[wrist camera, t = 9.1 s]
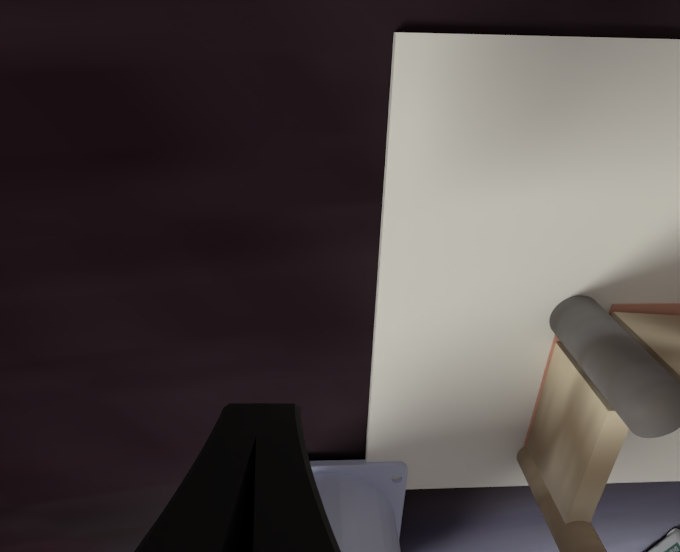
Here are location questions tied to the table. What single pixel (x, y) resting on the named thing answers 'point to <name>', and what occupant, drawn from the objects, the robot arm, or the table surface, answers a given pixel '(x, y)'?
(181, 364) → the table surface
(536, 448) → the fixed fence section
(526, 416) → the mat
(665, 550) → the syrup box
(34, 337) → the table surface
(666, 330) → the beige long t-shaped piece
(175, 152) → the table surface
